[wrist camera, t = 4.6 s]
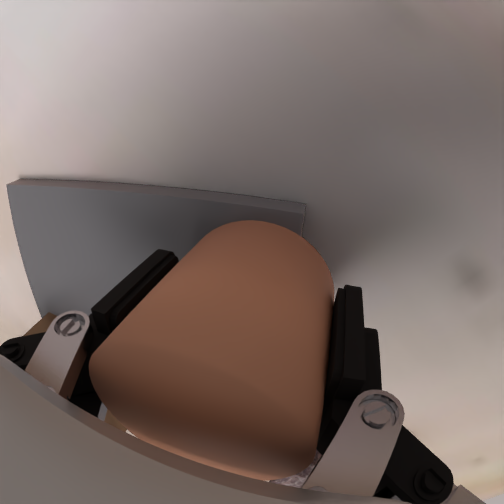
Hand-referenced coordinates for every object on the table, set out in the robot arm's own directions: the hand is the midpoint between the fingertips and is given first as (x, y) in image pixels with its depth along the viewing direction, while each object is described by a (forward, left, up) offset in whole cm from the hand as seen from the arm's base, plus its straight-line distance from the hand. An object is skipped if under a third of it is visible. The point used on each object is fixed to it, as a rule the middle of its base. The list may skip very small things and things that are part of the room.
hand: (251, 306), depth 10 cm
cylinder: (0, 0, -1) cm, 1 cm away
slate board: (+8, +6, -3) cm, 10 cm away
